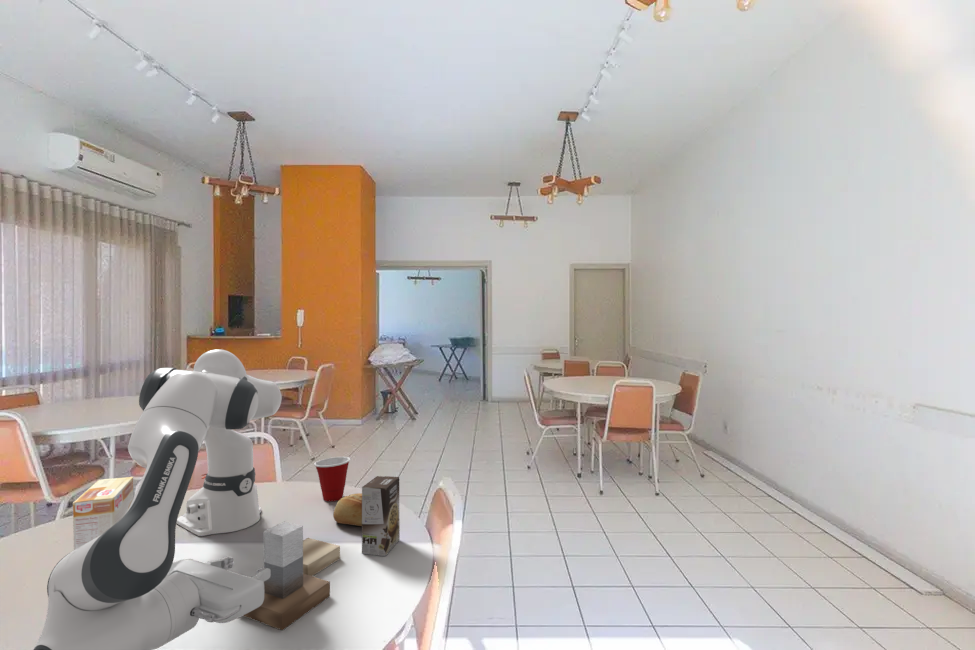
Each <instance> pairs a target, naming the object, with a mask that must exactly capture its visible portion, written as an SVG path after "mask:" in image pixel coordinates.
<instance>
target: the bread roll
mask: <svg viewBox="0 0 975 650" xmlns="http://www.w3.org/2000/svg"><path fill="white" fill-rule="evenodd" d="M332 514H333V515H332V517H333V519H334V521H335V522H336V523H338V524H343V525H351V526H359V527H362V492H361V493H360V492H359V493H352V494H349V495H345V496H343V497H342V498H341V499H340V500H338V501H336V505H335V507H334V510H333V513H332Z"/></svg>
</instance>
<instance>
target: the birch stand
mask: <svg viewBox="0 0 975 650" xmlns="http://www.w3.org/2000/svg"><path fill="white" fill-rule="evenodd" d="M340 559H341V545H338V544H334V543H330V542H326V541H323V540H318V539H314V538H310V537H307V538H305V539H303V574H306V575H309V576H313V577H314V576H315V575H317V574H318V573H320V572H321V571H324V569H326V568H327V567H330V565H332V564H334V563H335V562H337V561H338V560H340Z"/></svg>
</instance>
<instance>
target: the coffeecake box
mask: <svg viewBox="0 0 975 650" xmlns="http://www.w3.org/2000/svg"><path fill="white" fill-rule="evenodd" d="M133 498H134V476H127V477H115V478H104V479H103V478H102V479H98V480H97V481H96V482H95V483H93V485H91V486H90V487H89V488H87V490H86V491H84V492H83V493H82V494H80V496H79V497H77V499H75V500H74V501H73V502H72V503H71V504H72V516H73V517H72V519H73V521H72V523H73V525H72V526H73V527H72V528H73V551H74V550H75V549H77V548H79V547H80V546H82V545H84V544H86V543H87V542H90V541H91V540H93V539H95V538H96V537H98V536H100V535H102V534H103V533H104V532H106V531H107V530H108V529H109V528H111V527H112V526H113V525H114V524H116V523H117V522H118V521H119V520H120V519H121V518H122V517H123V516H124V515H125V513H126V512H127V511H128V509H129V507H130V505H131V503H132V500H133Z"/></svg>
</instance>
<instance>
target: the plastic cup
mask: <svg viewBox="0 0 975 650" xmlns="http://www.w3.org/2000/svg"><path fill="white" fill-rule="evenodd" d="M350 461H351V458H350V457H349V456H333V457H332V456H331V457H329V458H323V459H320V460H317V461H315V462H314V463H313V465H314V467H315V470H316V472H317V475H318V481H319V486H320V490H321V495H322V499H323V501H324V502H330V503H331V502H338V501H339V500H340V499H341V498H344V494H345V493H344V492H345V487H346V482H347V481H346V479H347V474H348V469H349V463H350Z"/></svg>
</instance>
